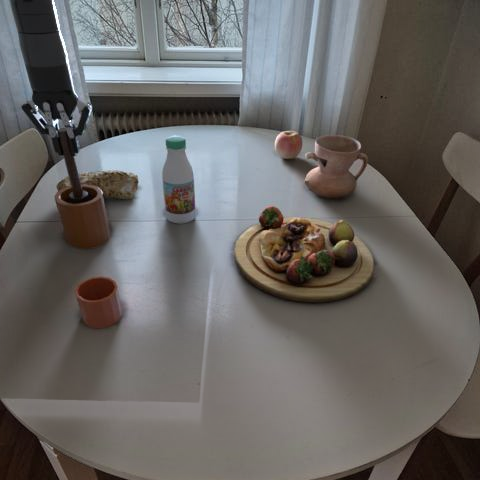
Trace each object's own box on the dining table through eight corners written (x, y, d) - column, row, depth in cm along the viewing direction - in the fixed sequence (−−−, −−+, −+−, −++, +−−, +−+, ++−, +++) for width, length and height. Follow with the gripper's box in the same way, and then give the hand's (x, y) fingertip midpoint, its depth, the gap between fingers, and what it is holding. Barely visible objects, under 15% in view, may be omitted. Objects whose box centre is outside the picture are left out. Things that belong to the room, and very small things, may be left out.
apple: (304, 161, 140) (307, 136, 135) (278, 163, 139) (280, 138, 133) (294, 151, 147) (297, 126, 141) (270, 152, 145) (272, 128, 139)
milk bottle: (159, 216, 112) (151, 138, 98) (182, 206, 116) (177, 130, 102) (178, 227, 108) (172, 148, 94) (201, 217, 112) (199, 139, 98)
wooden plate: (216, 234, 106) (216, 204, 101) (330, 216, 115) (336, 187, 109) (263, 319, 84) (266, 286, 79) (400, 289, 93) (412, 257, 87)
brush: (72, 218, 98) (49, 133, 85) (77, 209, 101) (55, 125, 88) (89, 219, 98) (69, 133, 85) (94, 210, 101) (75, 126, 88)
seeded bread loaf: (139, 190, 124) (68, 174, 121) (140, 168, 118) (65, 150, 115) (129, 221, 116) (53, 204, 113) (130, 198, 110) (49, 179, 107)
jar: (60, 248, 100) (48, 205, 92) (73, 225, 107) (62, 183, 100) (105, 249, 100) (95, 206, 92) (114, 226, 107) (106, 185, 100)
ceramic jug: (304, 203, 119) (312, 153, 110) (296, 180, 130) (302, 132, 120) (367, 203, 121) (380, 153, 111) (354, 180, 131) (365, 133, 121)
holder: (78, 330, 80) (69, 301, 76) (89, 303, 86) (81, 275, 81) (118, 331, 81) (112, 302, 76) (126, 304, 86) (120, 276, 81)
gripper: (-2, 63, 75) (28, 160, 87) (78, 66, 75) (97, 163, 87) (15, 53, 80) (41, 146, 92) (89, 56, 81) (106, 148, 93)
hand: (68, 154), depth 90 cm, fingers closed on brush, 2 cm apart
